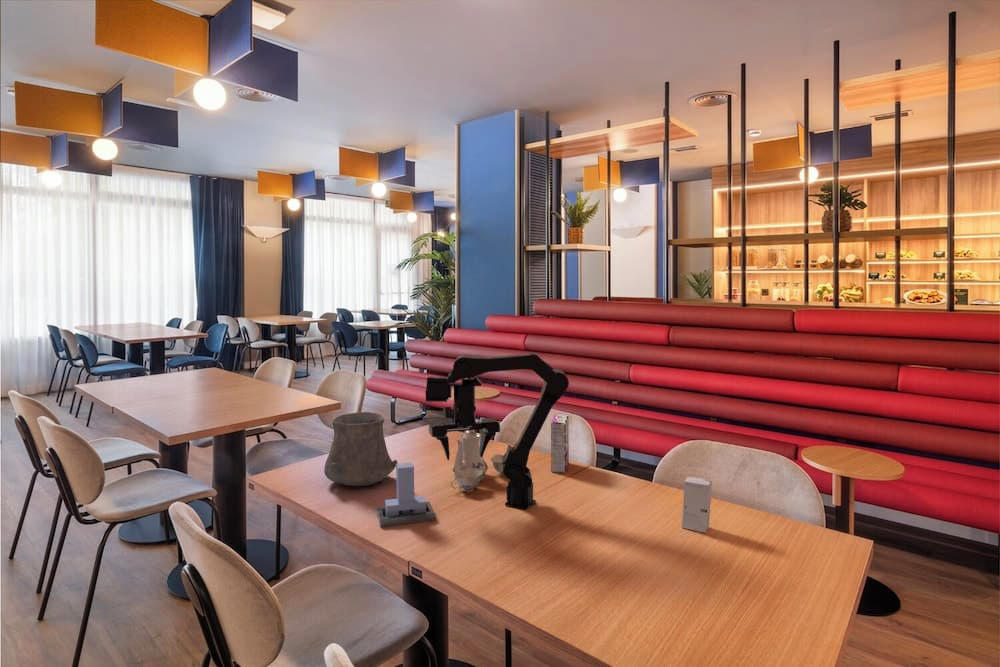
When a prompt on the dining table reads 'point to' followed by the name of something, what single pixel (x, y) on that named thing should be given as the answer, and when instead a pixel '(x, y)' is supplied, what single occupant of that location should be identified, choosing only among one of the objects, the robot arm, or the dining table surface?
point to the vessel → (358, 450)
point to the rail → (405, 516)
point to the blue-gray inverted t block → (405, 492)
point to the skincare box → (696, 504)
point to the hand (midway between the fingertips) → (464, 458)
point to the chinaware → (472, 462)
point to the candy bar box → (559, 443)
